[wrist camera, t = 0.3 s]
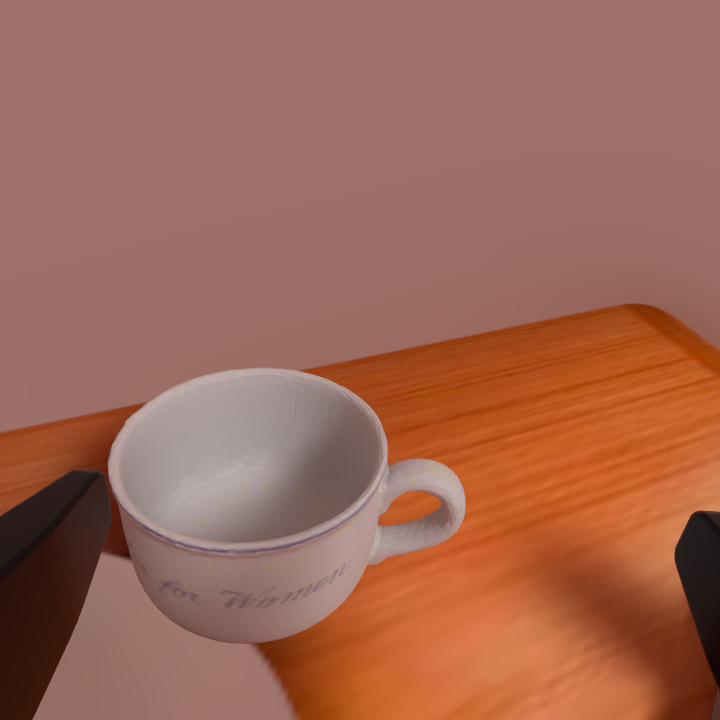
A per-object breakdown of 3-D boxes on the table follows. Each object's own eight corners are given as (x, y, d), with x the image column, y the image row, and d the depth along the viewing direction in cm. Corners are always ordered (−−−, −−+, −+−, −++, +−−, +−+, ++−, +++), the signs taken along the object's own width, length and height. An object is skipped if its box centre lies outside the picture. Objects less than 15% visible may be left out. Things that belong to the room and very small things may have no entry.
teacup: (83, 624, 24) (37, 490, 20) (217, 455, 33) (206, 335, 28) (404, 755, 21) (437, 632, 17) (459, 530, 30) (490, 409, 25)
